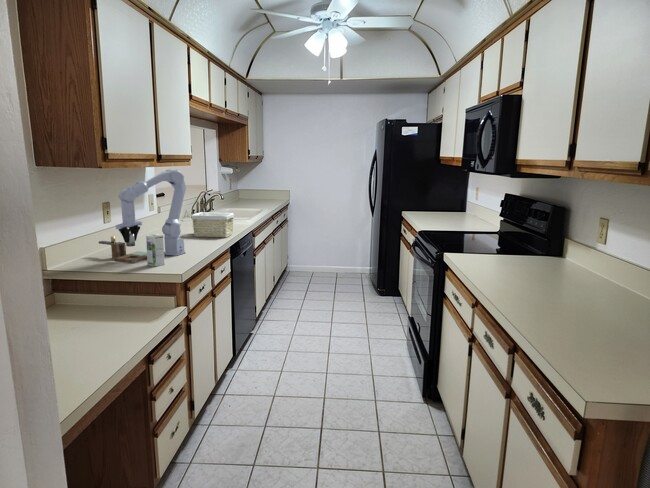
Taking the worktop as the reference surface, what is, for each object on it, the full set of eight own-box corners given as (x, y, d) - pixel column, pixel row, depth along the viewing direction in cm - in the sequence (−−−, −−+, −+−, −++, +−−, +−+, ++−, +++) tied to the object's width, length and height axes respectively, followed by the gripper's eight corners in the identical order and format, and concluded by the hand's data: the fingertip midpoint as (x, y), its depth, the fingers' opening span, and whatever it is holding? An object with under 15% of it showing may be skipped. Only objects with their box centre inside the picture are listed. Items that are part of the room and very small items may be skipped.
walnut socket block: (148, 258, 211) (147, 244, 209) (133, 262, 201) (132, 247, 200) (124, 255, 216) (123, 241, 215) (108, 259, 207) (106, 244, 205)
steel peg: (137, 245, 208) (136, 233, 207) (130, 246, 204) (129, 234, 203) (130, 244, 209) (129, 232, 208) (124, 246, 206) (123, 234, 204)
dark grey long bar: (123, 245, 210) (123, 237, 209) (119, 246, 208) (119, 238, 207) (102, 242, 215) (102, 234, 214) (98, 243, 212) (98, 235, 211)
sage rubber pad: (151, 253, 221) (151, 253, 221) (140, 256, 214) (139, 256, 214) (138, 252, 224) (138, 251, 224) (126, 255, 217) (126, 254, 217)
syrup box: (147, 265, 198) (145, 235, 195) (157, 262, 203) (156, 233, 200) (154, 266, 195) (152, 236, 192) (165, 264, 200) (163, 234, 197)
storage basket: (191, 237, 269) (190, 214, 266) (201, 232, 285) (200, 211, 282) (227, 238, 267) (226, 215, 264) (235, 234, 283) (234, 212, 280)
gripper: (123, 216, 195) (125, 245, 198) (146, 213, 209) (147, 239, 212) (111, 215, 198) (113, 243, 201) (135, 212, 211) (136, 238, 214)
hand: (130, 241), depth 206 cm, fingers closed on steel peg, 4 cm apart
